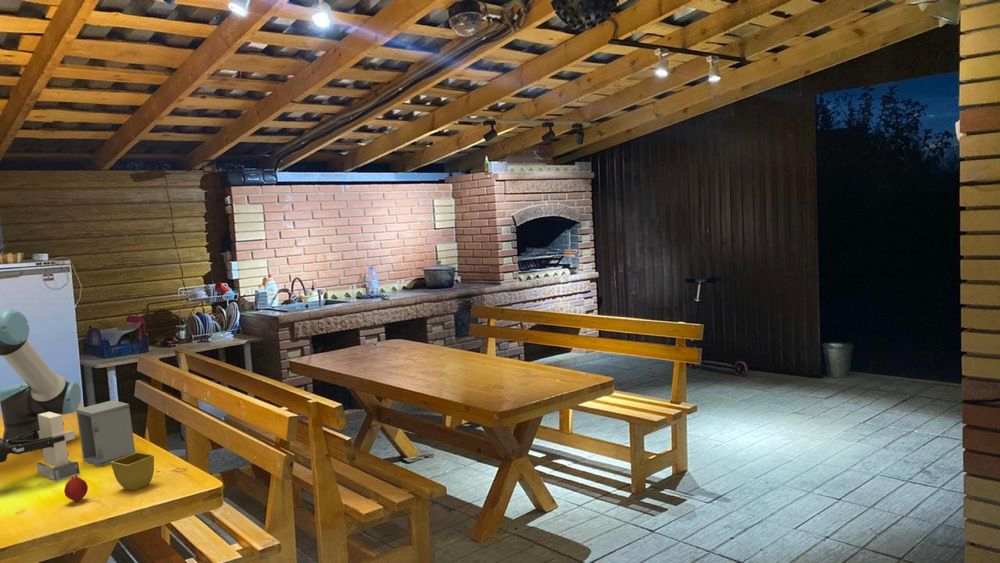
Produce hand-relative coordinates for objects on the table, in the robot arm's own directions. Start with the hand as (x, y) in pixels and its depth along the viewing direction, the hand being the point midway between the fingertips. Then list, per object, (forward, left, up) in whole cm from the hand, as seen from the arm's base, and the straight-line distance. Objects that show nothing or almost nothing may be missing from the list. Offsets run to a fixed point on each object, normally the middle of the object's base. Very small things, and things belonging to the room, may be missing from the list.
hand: (67, 432), depth 242 cm
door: (+2, -4, -9) cm, 10 cm away
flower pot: (+31, +21, -13) cm, 40 cm away
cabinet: (-6, +10, -13) cm, 17 cm away
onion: (+34, +6, -13) cm, 37 cm away
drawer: (+2, -4, -13) cm, 13 cm away
